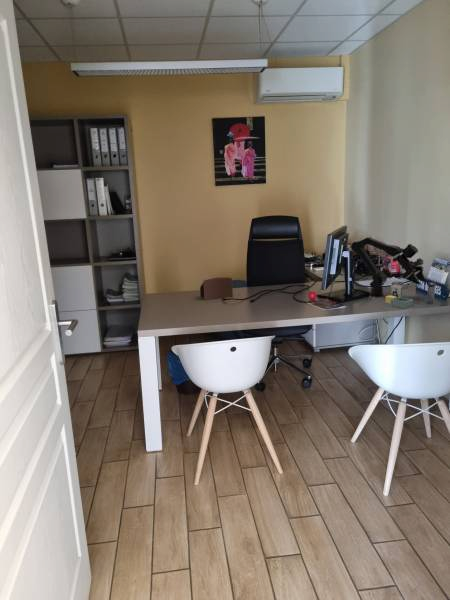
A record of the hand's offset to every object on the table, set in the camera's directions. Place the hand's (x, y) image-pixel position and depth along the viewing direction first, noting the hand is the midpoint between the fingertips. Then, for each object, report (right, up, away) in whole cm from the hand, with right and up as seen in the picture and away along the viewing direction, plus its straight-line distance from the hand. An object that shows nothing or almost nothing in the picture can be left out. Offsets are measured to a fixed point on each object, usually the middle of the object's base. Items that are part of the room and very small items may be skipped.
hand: (422, 282), depth 276 cm
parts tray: (-14, -14, -5) cm, 20 cm away
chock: (-18, -12, +3) cm, 22 cm away
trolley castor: (-14, -11, +6) cm, 19 cm away
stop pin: (+4, -12, -1) cm, 13 cm away
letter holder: (-123, -9, +32) cm, 128 cm away
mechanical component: (-8, -9, +14) cm, 18 cm away
